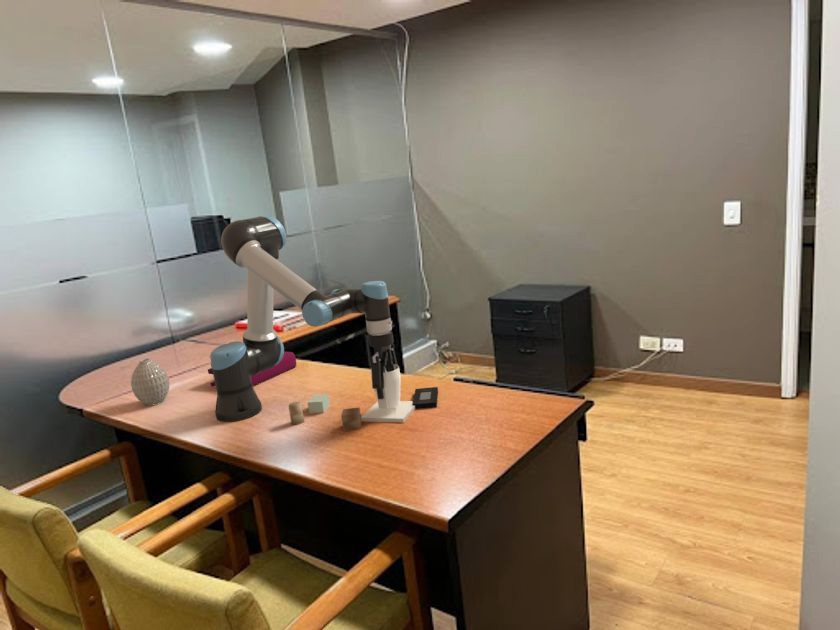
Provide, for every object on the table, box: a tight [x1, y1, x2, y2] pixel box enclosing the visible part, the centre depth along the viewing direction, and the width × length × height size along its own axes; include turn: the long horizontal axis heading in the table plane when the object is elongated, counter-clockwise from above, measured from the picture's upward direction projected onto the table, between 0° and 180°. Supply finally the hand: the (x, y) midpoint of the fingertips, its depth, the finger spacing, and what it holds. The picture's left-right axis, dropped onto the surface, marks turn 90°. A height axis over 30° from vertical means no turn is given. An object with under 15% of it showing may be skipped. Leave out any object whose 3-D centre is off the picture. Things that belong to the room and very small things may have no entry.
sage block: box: [307, 393, 331, 415], centre depth 204 cm, size 5×7×4 cm
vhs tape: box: [412, 386, 439, 410], centre depth 201 cm, size 8×14×2 cm, turn 176°
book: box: [207, 351, 297, 387], centre depth 249 cm, size 21×28×8 cm
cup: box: [370, 364, 402, 409], centre depth 192 cm, size 9×9×12 cm
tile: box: [361, 400, 416, 423], centre depth 194 cm, size 14×14×1 cm
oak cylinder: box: [287, 401, 305, 426], centre depth 195 cm, size 4×4×6 cm
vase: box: [130, 357, 170, 406], centre depth 229 cm, size 13×13×17 cm
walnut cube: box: [341, 407, 363, 432], centre depth 186 cm, size 5×5×5 cm
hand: (389, 402), depth 193 cm, fingers closed on cup, 9 cm apart
